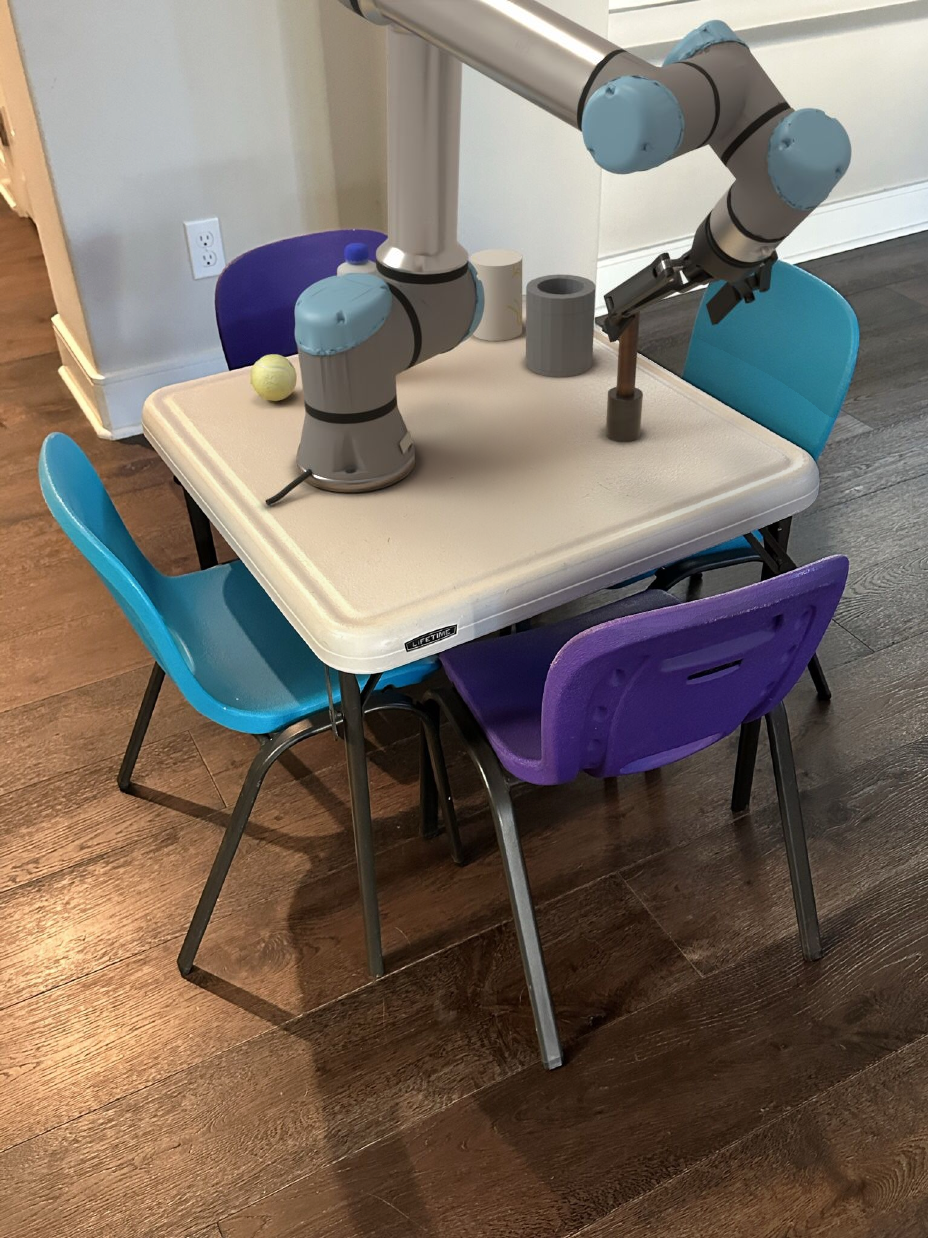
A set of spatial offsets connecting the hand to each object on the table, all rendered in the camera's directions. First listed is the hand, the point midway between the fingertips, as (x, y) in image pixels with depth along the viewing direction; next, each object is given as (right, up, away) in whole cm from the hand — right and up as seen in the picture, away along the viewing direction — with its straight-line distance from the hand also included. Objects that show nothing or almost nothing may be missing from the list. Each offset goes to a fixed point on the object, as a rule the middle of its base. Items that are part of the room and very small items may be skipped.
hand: (661, 322), depth 135 cm
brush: (-2, -11, +17) cm, 20 cm away
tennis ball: (-51, -4, +29) cm, 59 cm away
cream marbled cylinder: (-18, +11, +48) cm, 52 cm away
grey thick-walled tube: (-9, +3, +36) cm, 38 cm away
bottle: (-38, +1, +34) cm, 51 cm away
